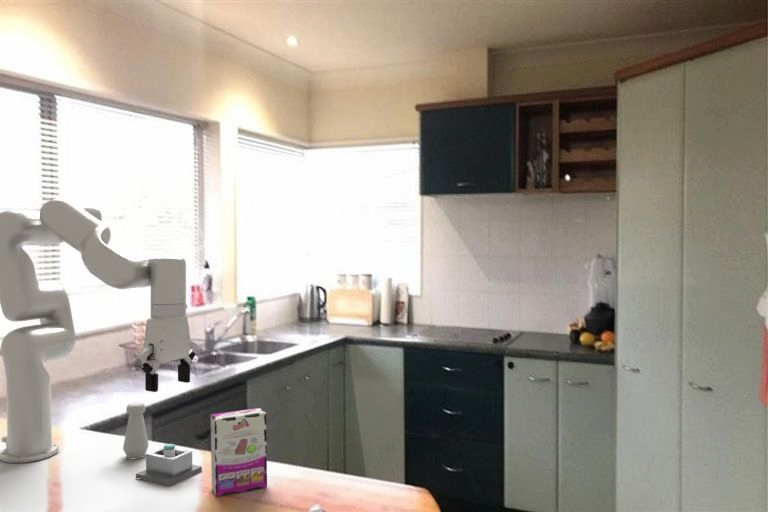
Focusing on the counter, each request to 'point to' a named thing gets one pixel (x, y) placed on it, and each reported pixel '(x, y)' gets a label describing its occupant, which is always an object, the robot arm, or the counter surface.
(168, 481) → the wall peg plate
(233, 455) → the candy bar box
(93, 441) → the counter surface
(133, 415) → the salt shaker
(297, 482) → the counter surface
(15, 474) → the counter surface
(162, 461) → the link
